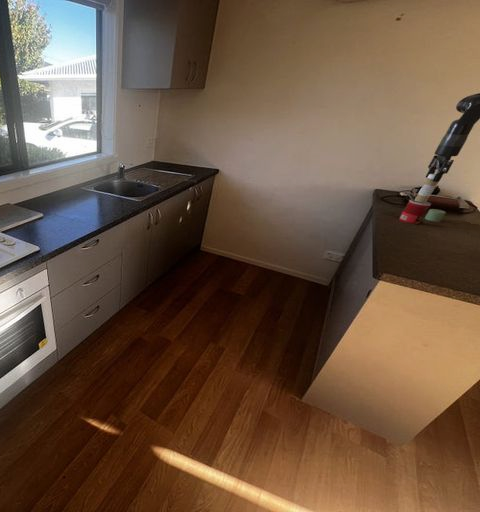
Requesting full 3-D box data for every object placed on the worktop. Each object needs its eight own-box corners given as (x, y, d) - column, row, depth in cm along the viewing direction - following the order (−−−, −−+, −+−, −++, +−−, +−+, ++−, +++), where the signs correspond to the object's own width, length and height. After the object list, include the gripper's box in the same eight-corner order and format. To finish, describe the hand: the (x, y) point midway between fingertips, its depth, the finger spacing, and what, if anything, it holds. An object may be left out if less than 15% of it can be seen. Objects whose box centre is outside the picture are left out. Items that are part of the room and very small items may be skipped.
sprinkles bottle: (417, 199, 149) (433, 173, 142) (428, 202, 145) (445, 175, 138) (411, 200, 148) (427, 173, 141) (422, 203, 144) (438, 176, 137)
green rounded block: (430, 217, 157) (435, 208, 155) (443, 221, 152) (449, 212, 150) (421, 218, 156) (426, 209, 154) (434, 222, 151) (440, 213, 149)
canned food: (417, 226, 147) (430, 205, 141) (396, 221, 152) (408, 201, 147) (419, 222, 151) (432, 202, 146) (399, 217, 156) (410, 198, 151)
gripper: (470, 147, 126) (448, 184, 134) (455, 143, 137) (436, 177, 145) (446, 146, 129) (426, 182, 137) (433, 142, 140) (416, 175, 148)
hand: (431, 179), depth 141 cm, fingers open, 8 cm apart
